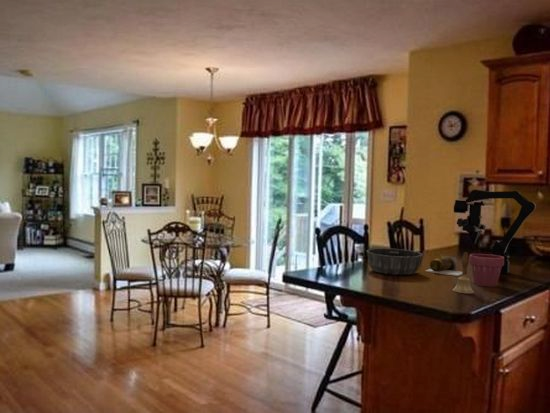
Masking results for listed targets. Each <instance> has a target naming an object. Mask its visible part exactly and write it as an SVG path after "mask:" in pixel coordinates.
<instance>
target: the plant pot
mask: <svg viewBox="0 0 550 413" xmlns="http://www.w3.org/2000/svg"><path fill="white" fill-rule="evenodd" d="M468 264H470V266H471V272H472V279H473V284H474V285H477V286H482V287H489V288H490V287H497V286H498V282H499V278H500V275H501V273H500V272H501V268H502V266H504V257H503V256H498V255H492V254H487V253H486V254H485V253H470V254H469V263H468Z"/></svg>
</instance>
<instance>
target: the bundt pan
mask: <svg viewBox="0 0 550 413" xmlns="http://www.w3.org/2000/svg"><path fill="white" fill-rule="evenodd" d="M366 253H367V260H368V261H367V262H368V265H369V267H370V268H371V270H372V271H374V273H379V274H385V275H392V276H397V275H398V276H407V275H414V274H416V272H417V271H418V270H419V267H420V264H421V260H422V257H423V253H421V252H420V251H419V252H418V251H415V250H411V249H410V250H409V249H399V248H385V247H384V248H371V249H370V248H369V249H367V250H366Z"/></svg>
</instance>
